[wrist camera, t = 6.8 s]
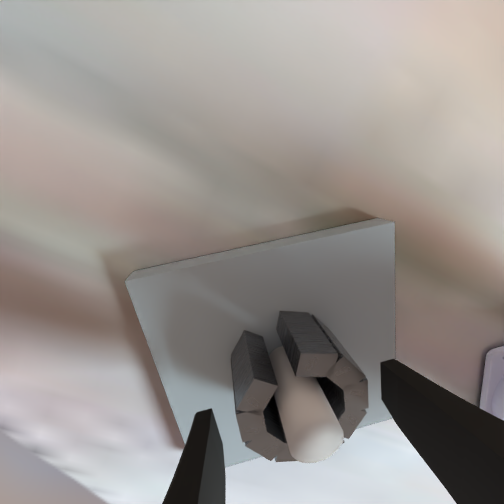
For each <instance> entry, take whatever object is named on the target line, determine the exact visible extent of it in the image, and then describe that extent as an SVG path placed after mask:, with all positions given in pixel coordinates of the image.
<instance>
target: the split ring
mask: <svg viewBox="0 0 504 504" xmlns="http://www.w3.org/2000/svg"><path fill="white" fill-rule="evenodd" d="M276 330H277V333H278V335H279V338H280V340H281V343H282V345H283V347H284V350H285V352H286V355H287V357H288V359H289V362H290V364H291V367H292V369H293V372H294V374H295V376H296V377H316V379H317V381H318V383H319V385H320V387H321V389H322V391H323V393H324V395H325V396H326V398H327V400H328V402H329V404H330V406H331V408H332V410H333V412H334V414H335V416H336V418H337V420H338V422H339V424H340V426H341V428H342V430H343V433H344V438H348V439H349V438H350V436H351V435H352V433H353V432H354V431H355V429H356V428H357V426H358V425H359V424H360V422H361V421H362V419H363V418H364V416H365V415H366V414H367V412H366V410H365V409H367V408H369V402H368V379H367V378H366V377H365V376H366V375H365V374H364V373H363V371H362V370H361V369H360V367H359V366H358V365H357V364H356V362H355V361H354V360H353V358H352V357H351V356H350V355H349V353H348V352H347V351H346V349H345V348H344V347H343V346H342V344H341V343H340V342H339V340H338V339H337V338H336V337H335V335H334V334H333V333H332V331H331V330H330V329H329V328H328V327H326V326H325V325H324V324H323V323H322V322H321V321H320V320H319V319H318V318H316V317H315V316H314V315H313V314H312V315H310V314H309V312H295V311H279V316H278V322H277V327H276ZM231 370H232V381H233V392H234V403H235V414H236V418H237V423H238V427H239V431H240V435H241V439H242V443H243V442H245V446H246V447H247V448H249V449H251V450H253V451H254V452H256V453H258V454H260V455H261V456H263V457H265V458H266V459H268V460H270V461H271V460H272V459H273V458H274V457H275V461H276V462H285V461H297V460H296V459H294V458H293V457H292V455H291V453H290V451H289V447H288V444H287V440H286V436H285V433H284V429H283V426H282V422H281V418H280V415H279V411H278V408H277V404H276V400H275V397H274V392H275V391H276V389H277V387H278V383H277V380H276V377H275V374H274V371H273V367H272V364H271V361H270V358H269V355H268V351H267V348H266V345H265V342H264V338H263V336H260V335H258V334H255V333H252V332H249V331H246V330H244V331H243V333H242V335H241V337H240V339H239V340H238V342H237V344H236V346H235V348H234V350H233V352H232V354H231ZM343 443H344V440H343V442H342V444H343Z"/></svg>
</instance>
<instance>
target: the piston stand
mask: <svg viewBox="0 0 504 504" xmlns="http://www.w3.org/2000/svg"><path fill="white" fill-rule="evenodd" d="M125 284H126V287H127V290H128V292H129V295H130V298H131V300H132V303H133V306H134V308H135V311H136V314H137V317H138V319H139V322H140V325H141V327H142V330H143V333H144V335H145V338H146V341H147V343H148V346H149V349H150V352H151V354H152V357H153V360H154V362H155V365H156V368H157V370H158V373H159V376H160V379H161V381H162V384H163V387H164V389H165V392H166V395H167V397H168V400H169V403H170V406H171V408H172V411H173V414H174V416H175V419H176V422H177V424H178V427H179V430H180V433H181V435H182V438H183V441H184V443H185V444H186V441H187V438H188V435H189V432H190V429H191V426H192V423H193V419H194V416H195V414H196V413H197V412H199V411H203V410H207V409H210V408H212V410H213V413H214V417H215V420H216V423H217V426H218V430H219V433H220V436H221V439H222V443H223V450H224V463H225V468H226V467H229V466H232V465H236V464H239V463H243V462H246V461H249V460H253V459H256V458H259V457H263V456H261V455H260V454H258V453H256V452H254V451H253V450H251V449H249V448H247V447H246V446H245V442H243V443H242V439H241V435H240V431H239V427H238V423H237V418H236V414H235V403H234V392H233V381H232V370H231V354H232V352H233V350H234V348H235V346H236V344H237V342H238V340H239V339H240V337H241V335H242V333H243V331H244V330H246V331H249V332H252V333H255V334H258V335H260V336H263V338H264V342H265V345H266V348H267V351H268V355H269V358H270V361H271V364H272V367H273V371H274V374H275V377H276V380H277V383H278V387H277V389H276V391H275V392H274V397H275V400H276V404H277V408H278V411H279V415H280V418H281V422H282V426H283V429H284V433H285V436H286V440H287V444H288V447H289V451H290V453H291V455H292V457H293V458H294V459H296V460H297V461H300V462H303V463H316V462H320V461H322V460H325V459H327V458H329V457H330V456H332V455H333V454H334V453H335V452H336V451H337V450H338V449H339V448H340V446H341V444H342V442H343V438H344V433H343V430H342V428H341V426H340V424H339V422H338V420H337V418H336V416H335V414H334V412H333V410H332V408H331V406H330V404H329V402H328V400H327V398H326V396H325V395H324V393H323V391H322V389H321V387H320V385H319V383H318V381H317V379H316V377H296V376H295V374H294V372H293V369H292V367H291V364H290V362H289V359H288V357H287V355H286V352H285V350H284V347H283V345H282V343H281V340H280V338H279V335H278V333H277V330H276V327H277V322H278V316H279V311H295V312H309V314H310V315H312V314H313V315H314V316H315V317H316V318H318V319H319V320H320V321H321V322H322V323H323V324H324V325H325V326H326V327H328V328H329V329H330V330H331V331H332V333H333V334H334V335H335V337H336V338H337V339H338V340H339V342H340V343H341V344H342V346H343V347H344V348H345V349H346V351H347V352H348V353H349V355H350V356H351V357H352V358H353V360H354V361H355V362H356V364H357V365H358V366H359V367H360V369H361V370H362V371H363V373H364V374H365V375H366V376H365V377H366V378H367V379H368V402H369V408H367V409H365V410H366V412H367V414H366V415H365V416H364V418H363V419H362V421H361V422H360V424H359V425H358V426H357V428H356V429H358V428H361V427H365V426H368V425H372V424H375V423H378V422H382V421H385V420H389V419H392V416H391V414H390V413H389V411H388V409H387V408H386V406H385V404H384V403H383V401H382V400H381V371H380V362H383V361H387V360H390V359H395V360H396V356H395V222H393V221H389V220H384V219H380V218H376V219H371V220H366V221H362V222H357V223H353V224H348V225H343V226H339V227H334V228H330V229H325V230H320V231H316V232H311V233H307V234H302V235H297V236H293V237H288V238H284V239H279V240H274V241H270V242H265V243H261V244H256V245H251V246H247V247H242V248H238V249H233V250H228V251H224V252H219V253H215V254H210V255H205V256H201V257H196V258H192V259H187V260H182V261H178V262H173V263H169V264H164V265H159V266H155V267H150V268H146V269H141V270H136V271H133V272H132V273H131V275H130V276H129V277H128V278H127V279H126V280H125Z"/></svg>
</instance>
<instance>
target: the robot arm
mask: <svg viewBox="0 0 504 504" xmlns="http://www.w3.org/2000/svg"><path fill="white" fill-rule="evenodd" d="M380 371H381V400H382V401H383V403H384V404H385V406H386V408H387V409H388V411H389V413H390V414H391V416H392V418H393V419H394V421H395V422H396V424H397V425H398V427H399V428H400V429H401V431H402V432H403V433H404V435H405V436H406V437H407V439H408V440H409V441H410V443H411V444H412V445H413V447H414V448H415V449H416V450H417V452H418V453H419V454H420V456H421V457H422V458H423V460H424V461H425V462H426V463H427V465H428V466H429V467H430V469H431V470H432V471H433V473H434V474H435V475H436V476H437V478H438V479H439V480H440V482H441V483H442V484H443V486H444V487H445V488H446V489H447V491H448V492H449V494H450V495H451V496H452V498H453V499H454V501H455V502H456V503H457V504H504V346H501V347H497V348H494V349H491V350H490V351H489V352H488V353H487V355H486V361H485V369H484V376H483V384H482V392H481V399H480V407H479V408H478V407H476V406H475V405H473V404H471V403H469V402H467V401H465V400H464V399H462V398H460V397H458V396H456V395H455V394H453V393H451V392H449V391H448V390H446V389H444V388H442V387H441V386H439V385H437V384H435V383H434V382H432V381H430V380H429V379H427V378H425V377H424V376H422V375H420V374H419V373H417V372H415V371H414V370H412V369H410V368H409V367H407V366H405V365H404V364H402V363H400V362H399V361H397V360H395V359H390V360H387V361H383V362H380ZM162 504H225V463H224V450H223V443H222V439H221V436H220V433H219V430H218V426H217V423H216V420H215V417H214V413H213V410H212V408H210V409H207V410H203V411H199V412H197V413H196V414H195V416H194V419H193V423H192V426H191V429H190V432H189V435H188V438H187V441H186V444H185V447H184V450H183V453H182V456H181V458H180V461H179V464H178V466H177V469H176V471H175V474H174V477H173V479H172V482H171V484H170V487H169V489H168V491H167V494H166V496H165V499H164V501H163V503H162Z"/></svg>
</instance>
